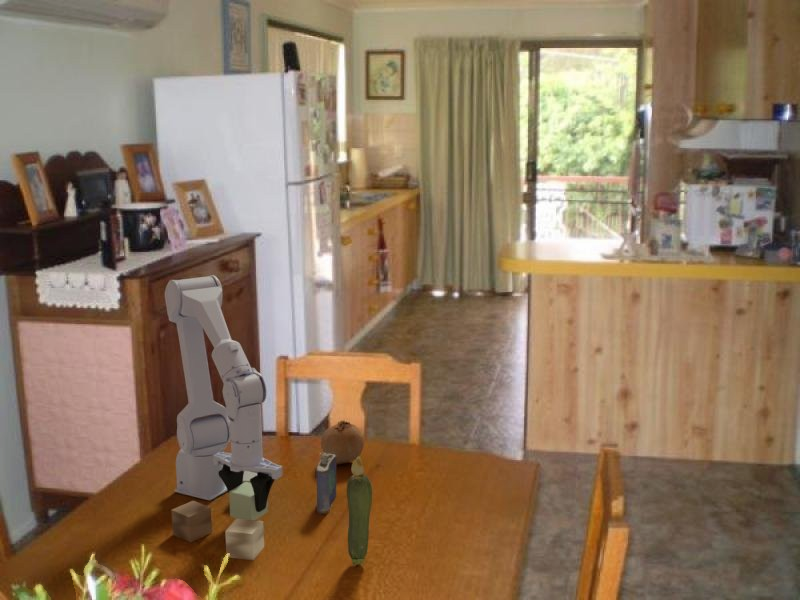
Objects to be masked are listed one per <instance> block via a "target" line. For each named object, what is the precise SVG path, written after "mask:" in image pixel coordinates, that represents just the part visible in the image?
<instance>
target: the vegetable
mask: <svg viewBox="0 0 800 600" xmlns="http://www.w3.org/2000/svg"><path fill="white" fill-rule="evenodd" d="M351 473H352V476H350V477H349V479H348V481H347V484H346V498H347V499H346V500H347V507H348V529H347V530H348V531H347V550H348V555H349V557H350V559H351V563H352V566H353V567H356V565H362V564H364V563H365V557H366V556H367V554H368V548H369V547H368V546H369V536H370V514H371V509H372V505H373V502H372V501H373V487H372V482H371V479H370V478H369V477H368V476H367V475H366V474H364V473H365V468H364V465H363V456H362V455H360V456H358V457H357V458H356V459H355V460H353V462H352V464H351Z"/></svg>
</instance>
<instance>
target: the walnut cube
mask: <svg viewBox="0 0 800 600" xmlns="http://www.w3.org/2000/svg"><path fill="white" fill-rule="evenodd" d="M170 511H171V523H172V535H173V536H175V537H177V538H179V539H182V540H183V541H186V542H188V543H190V544H191V543H193V542H195V541H197V540H199V539H202V538H203V537H206V536H208V535H209V534H212V533H213V525H212V524H213V523H212V522H213V521H212V508H211V507H210V506H208V505H206V504H203V503H201V502H197V500H191V501H189V502H187V503H184V504H182V505H179V506H177V507H175V508H172V509H171V510H170Z"/></svg>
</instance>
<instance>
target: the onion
mask: <svg viewBox="0 0 800 600" xmlns="http://www.w3.org/2000/svg"><path fill="white" fill-rule="evenodd" d="M320 445H321V450H322V452H323V453H326V454H335V455H336V465H342V464H347V463H349V462H352V461H353V462H354V460H356V458H357V457H358V456H361V454H362V452H363V450H364V448H365V447H364V445H365V438H364V435H363V432H362V431H361V430H360V429H359V427H358V426H356V425H354V424H353V423H350V421H345V420H340V421H338V422H337V423H336V424H334V425H331V426H330V427H328V428H327V429H326V430H325V431H324V433H323V435H322V437H321V442H320Z"/></svg>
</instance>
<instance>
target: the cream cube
mask: <svg viewBox="0 0 800 600" xmlns="http://www.w3.org/2000/svg"><path fill="white" fill-rule="evenodd" d="M264 530H265V529H264V521H263V520H258V519H256V520H247V519H238V518H235V519H234V521H233V522H232V523H231V524H230V526H228V527H227V528H226V530H225V532H224V533H225V535H224V536H225V551H226V552H225V553H226V554H227V553H230V557H229V558H231V559H240V560H247V561H248V560H249V561H254V560H255V559H256V558H257V557H258V555H259V554H260V553H261V551H263V549H264V548H265V531H264Z"/></svg>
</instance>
